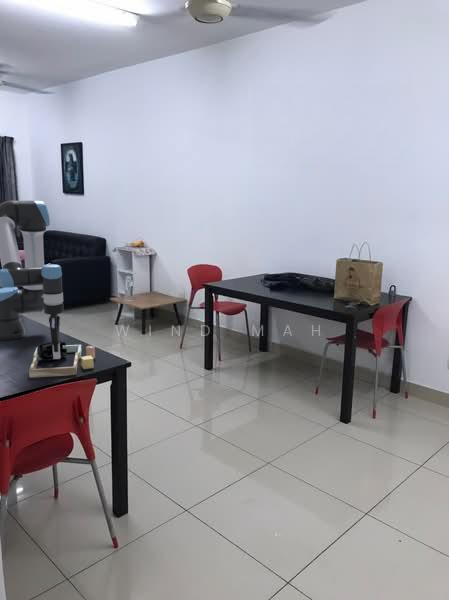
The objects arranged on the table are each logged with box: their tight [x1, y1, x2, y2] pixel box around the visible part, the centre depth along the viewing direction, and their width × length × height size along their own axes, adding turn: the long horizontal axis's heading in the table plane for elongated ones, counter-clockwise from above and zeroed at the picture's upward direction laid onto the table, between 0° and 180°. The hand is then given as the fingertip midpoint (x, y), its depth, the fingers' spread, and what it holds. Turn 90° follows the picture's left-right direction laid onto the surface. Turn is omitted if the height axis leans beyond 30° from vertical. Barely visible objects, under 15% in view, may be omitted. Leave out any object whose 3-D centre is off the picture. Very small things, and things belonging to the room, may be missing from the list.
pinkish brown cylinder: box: [85, 345, 96, 360], centre depth 202 cm, size 4×4×5 cm
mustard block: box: [80, 355, 95, 370], centre depth 193 cm, size 4×4×4 cm
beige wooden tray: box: [28, 352, 80, 379], centre depth 191 cm, size 18×17×3 cm
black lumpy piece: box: [36, 340, 68, 362], centre depth 201 cm, size 10×7×7 cm
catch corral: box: [33, 344, 83, 360], centre depth 204 cm, size 10×18×3 cm, turn 104°
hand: (56, 358), depth 197 cm, fingers closed
